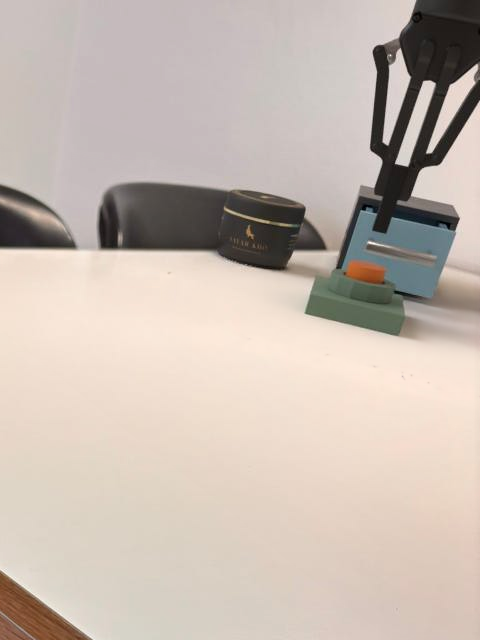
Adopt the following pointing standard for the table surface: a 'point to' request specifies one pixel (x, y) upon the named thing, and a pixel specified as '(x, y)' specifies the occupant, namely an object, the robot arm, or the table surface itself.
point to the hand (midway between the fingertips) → (379, 230)
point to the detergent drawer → (403, 249)
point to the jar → (259, 228)
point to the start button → (366, 272)
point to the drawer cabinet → (411, 207)
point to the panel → (357, 302)
